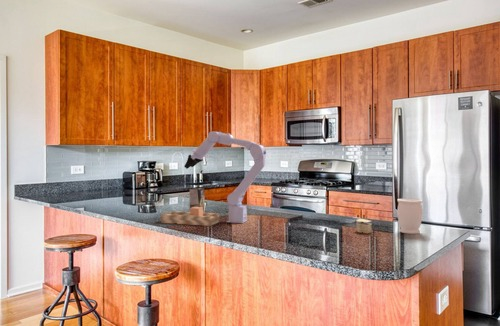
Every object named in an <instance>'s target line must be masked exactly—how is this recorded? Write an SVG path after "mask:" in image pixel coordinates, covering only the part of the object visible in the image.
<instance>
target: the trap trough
mask: <svg viewBox="0 0 500 326" xmlns="http://www.w3.org/2000/svg"><path fill="white" fill-rule="evenodd" d="M219 222H220V213H218V212H216V213H213V212H205V213H203V216H190V211H177V210H176V211H175V210H170V211H168V212H163V213H161V214H160V223H161V224H174V223H177V225H191V226H192V225H193V226H205V227H207V226H208V227H211V226H213V225H216V224H218V223H219Z"/></svg>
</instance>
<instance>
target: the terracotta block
mask: <svg viewBox="0 0 500 326" xmlns="http://www.w3.org/2000/svg"><path fill="white" fill-rule="evenodd" d="M189 212H190V216H203V207H192V208H190V207H189Z"/></svg>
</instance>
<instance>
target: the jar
mask: <svg viewBox="0 0 500 326" xmlns="http://www.w3.org/2000/svg"><path fill="white" fill-rule="evenodd" d="M396 202H398V205H397V210H396V211H397V213H396V214H397V221H398V226H400V227H399V228H400V229H399V232H400V233H402V234H409V235H417V234H419V233H420V230H419V229H420V228H421V224H422V221H423V220H422V219H423V206H422V203H423V200H422V199H419V198H413V197H412V198H409V197H408V198H407V197H405V198H397V201H396Z"/></svg>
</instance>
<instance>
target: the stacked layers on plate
mask: <svg viewBox="0 0 500 326" xmlns="http://www.w3.org/2000/svg"><path fill="white" fill-rule="evenodd" d="M355 221H356V223H355V224H356V227H355V229H356V232H357V233H362V232H363V233H364V234H370V233H372V229H373V228H372V225H373V224H372V223H370V222H372V220H368V219H364V218H359V219H356V220H355Z"/></svg>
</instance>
